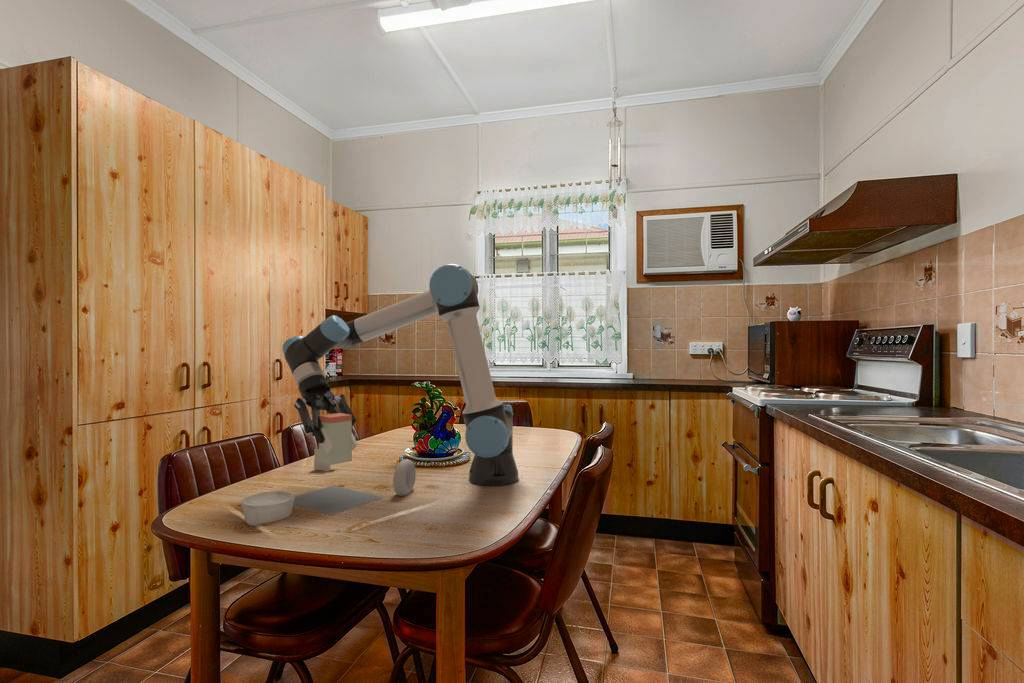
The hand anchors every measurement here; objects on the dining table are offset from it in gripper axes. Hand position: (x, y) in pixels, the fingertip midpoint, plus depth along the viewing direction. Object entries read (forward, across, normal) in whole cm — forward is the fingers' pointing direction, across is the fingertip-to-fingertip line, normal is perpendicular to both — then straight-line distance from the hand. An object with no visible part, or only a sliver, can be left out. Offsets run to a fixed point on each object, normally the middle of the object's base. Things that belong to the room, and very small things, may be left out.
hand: (342, 449), depth 127 cm
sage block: (0, 0, -5) cm, 5 cm away
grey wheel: (+14, -16, -7) cm, 22 cm away
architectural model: (-16, -14, -38) cm, 43 cm away
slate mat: (+7, 0, -14) cm, 15 cm away
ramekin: (+7, +17, -13) cm, 23 cm away
